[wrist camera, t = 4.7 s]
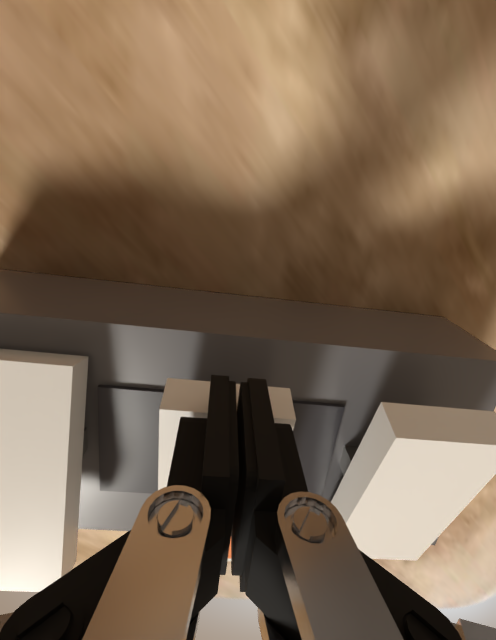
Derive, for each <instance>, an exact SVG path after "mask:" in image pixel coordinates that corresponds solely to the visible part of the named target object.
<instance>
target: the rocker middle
mask: <svg viewBox="0 0 496 640" xmlns="http://www.w3.org/2000/svg"><path fill="white" fill-rule="evenodd" d="M239 389H240V384H236V402H237V404H238V396H239ZM268 391H269V397H270V402H271V407H272V412H273V418H274V423H281V424H290V425H291V427H292V430H293V429H294V425H295V422H296V417H295V412H294V407H293V401H292V396H291V391H290V388H280V387H269V386H268ZM209 392H210V381H198V380H186V379H174V378H167V381H166V385H165V389H164V393H163V397H162V401H161V405H160V408H159V457H158V490H160V489H162V488H164V487H167V482H168V477H169V472H170V467H171V462H172V457H173V452H174V447H175V442H176V437H177V432H178V427H179V422H180V418H181V417H194V418H207V414H208V403H209ZM227 561H231V539H230V546H229V553H228V560H227Z"/></svg>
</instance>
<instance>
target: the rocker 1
mask: <svg viewBox="0 0 496 640" xmlns="http://www.w3.org/2000/svg"><path fill="white" fill-rule="evenodd" d="M87 373H88V356H78V355H67V354H55V353H44V352H33V351H22V350H10V349H0V591H27V592H40V591H41V590H43V589H44V588H46V587H47V586H49V585H50V584H52V583H53V582H55V581H56V580H58V579H59V578H61V577H62V576H64V575H65V574H67V573H68V572H69V571H71V570H72V568H73V566H74V564H75V562H76V554H77V537H78V521H79V505H80V488H81V472H82V455H83V439H84V422H85V406H86V389H87Z"/></svg>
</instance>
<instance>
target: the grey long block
mask: <svg viewBox="0 0 496 640" xmlns="http://www.w3.org/2000/svg"><path fill="white" fill-rule="evenodd" d="M0 349H10V350H22V351H33V352H44V353H55V354H67V355H78V356H88V373H87V389H86V406H85V422H84V439H83V455H82V472H81V488H80V505H79V521H78V529H96V530H117V531H130V530H131V529H132V527H133V525H134V523H135V521H136V518H137V516H138V514H139V512H140V509H141V507H142V505H143V504H144V502H145V501H146V499H147V498H148V497H149V496H151V495H152V494H153V493H154V492H155V491H158V457H159V408H160V405H161V401H162V397H163V393H164V389H165V385H166V381H167V378H174V379H186V380H198V381H210V382H211V375H222V376H229V381H236V384H240V383H241V382H247V379H248V378H259V379H266V381H267V386H269V387H280V388H290V391H291V396H292V401H293V407H294V412H295V417H296V422H295V425H294V429H293V434H294V438H295V442H296V446H297V450H298V453H299V457H300V461H301V465H302V469H303V473H304V477H305V481H306V485H307V489H308V492H311V493H314V494H317V495H320V496H322V497H323V498H325V499H327V500H328V501H330V502H331V501H332V499H333V497H334V495H335V493H336V491H337V489H338V487H339V485H340V483H341V481H342V479H343V477H344V475H345V473H346V471H347V469H348V467H349V465H350V463H351V461H352V459H353V457H354V455H355V453H356V451H357V449H358V447H359V445H360V443H361V441H362V439H363V437H364V435H365V433H366V431H367V429H368V427H369V425H370V423H371V421H372V419H373V417H374V415H375V413H376V411H377V409H378V407H379V405H380V403H381V402H387V403H399V404H411V405H423V406H435V407H447V408H459V409H471V410H483V411H494V409H495V406H496V350H494V349H493V348H491V347H489V346H488V345H486V344H485V343H483V342H482V341H480V340H479V339H477V338H475V337H474V336H472V335H471V334H469V333H468V332H466V331H465V330H463V329H462V328H460V327H458V326H457V325H455V324H454V323H452V322H451V321H449V320H448V319H446V318H444V317H439V316H430V315H421V314H412V313H402V312H393V311H384V310H374V309H365V308H356V307H347V306H337V305H328V304H319V303H309V302H300V301H291V300H282V299H272V298H263V297H254V296H244V295H235V294H226V293H217V292H207V291H198V290H189V289H179V288H170V287H161V286H152V285H142V284H133V283H124V282H114V281H105V280H96V279H87V278H77V277H68V276H59V275H49V274H40V273H31V272H22V271H12V270H3V269H0ZM438 537H439V536H438ZM438 537H437V539H438ZM437 539H436V540H435V541H434V542H433V543H432V544H431V545H435V544H436V541H437Z"/></svg>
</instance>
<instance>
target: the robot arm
mask: <svg viewBox="0 0 496 640" xmlns="http://www.w3.org/2000/svg"><path fill="white" fill-rule="evenodd" d="M230 539H231V570H232V575H240V592H246V595H247V596H248V597H249V599H250V600H251V601H252V602H253V603H254V604H255V605H256V606H257V607H258V622H259V626H260V632H261V637H262V640H496V629H495V628H492V627H488V626H485V625H481V624H477V623H473V622H470V621H466V620H462V619H459V620H458V622H457V624H455V623H451V622H450V621H449V619H448V618H447V617H446V616H444V615H443V614H442V613H441V612H440V611H439V610H438V609H437V608H436V607H434V606H433V605H432V604H430V603H429V602H428V601H426V600H425V599H424V598H422V597H421V596H420V595H418V594H417V593H416V592H414V591H413V590H412V589H411V588H409V587H408V586H407V585H405V584H404V583H403V582H401V581H400V580H399V579H397V578H396V577H395V576H393V575H392V574H391V573H389V572H388V571H387V570H385V569H384V568H383V567H382V566H380V565H379V564H378V563H376V562H375V561H374V560H372V559H371V558H370V557H368V556H367V555H366V554H364V553H363V552H362V551H360V550H359V549H358V547H357V545H356V543H355V541H354V539H353V537H352V535H351V533H350V531H349V529H348V527H347V525H346V523H345V521H344V519H343V517H342V515H341V514H340V512H339V511H338V510H337V508H336V507H335V506H334V505H333V504H332V503H331V502H330V501H328V500H327V499H325V498H323V497H322V496H320V495H317V494H314V493H311V492H308V489H307V485H306V481H305V477H304V473H303V469H302V465H301V461H300V457H299V453H298V450H297V446H296V442H295V438H294V434H293V430H292V427H291V425H290V424H281V423H274V418H273V412H272V407H271V402H270V397H269V391H268V386H267V381H266V379H259V378H248V379H247V382H241V383H240V389H239V396H238V404H237V402H236V381H229V376H222V375H211V382H210V392H209V403H208V414H207V418H194V417H181V418H180V422H179V427H178V432H177V437H176V442H175V447H174V452H173V457H172V462H171V467H170V472H169V477H168V482H167V487H164V488H162V489H160V490H158V491H155V492H154V493H153V494H152V495H151V496H149V497H148V498H147V499H146V501H145V502H144V504H143V505H142V507H141V509H140V512H139V514H138V516H137V518H136V521H135V523H134V525H133V527H132V529H131V530H130V531H128V532H127V533H126V534H124V535H123V536H121V537H120V538H118V539H117V540H115V541H114V542H112V543H111V544H109V545H108V546H106V547H105V548H103V549H102V550H100V551H99V552H98V553H96V554H95V555H93V556H92V557H90V558H89V559H87V560H86V561H84V562H83V563H81V564H80V565H78V566H77V567H75V568H74V569H72V570H71V571H69V572H68V573H67V574H65V575H64V576H62V577H61V578H59V579H58V580H56V581H55V582H53V583H52V584H50V585H49V586H47V587H46V588H44V589H43V590H41V591H40V592H39V593H37V594H36V595H34V596H33V597H31V598H30V599H28V600H27V601H26V602H25V603H24V604H22V605H21V606H20V607H19V608H18V609H16V610H15V612H13V613H8V614H3V615H0V640H195V637H196V632H197V626H198V622H199V614H200V610H201V609H202V608H203V607H204V606H205V605H206V604H207V603H208V602H209V601H210V600H211V599H212V598H213V597H214V596H215V595H216V594H217V592H218V584H219V577H220V575H225V574H226V567H227V560H228V553H229V546H230Z"/></svg>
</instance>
